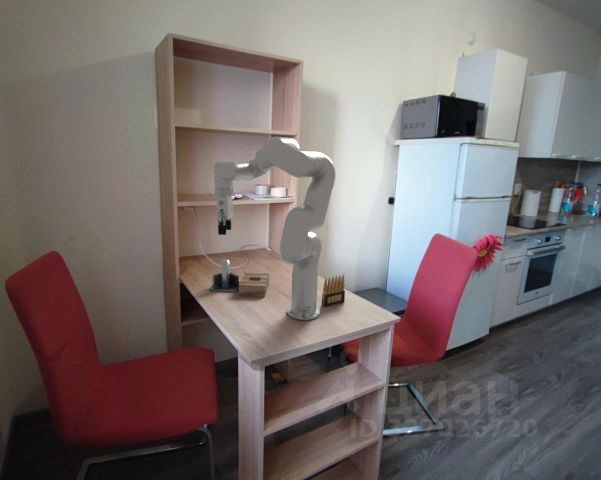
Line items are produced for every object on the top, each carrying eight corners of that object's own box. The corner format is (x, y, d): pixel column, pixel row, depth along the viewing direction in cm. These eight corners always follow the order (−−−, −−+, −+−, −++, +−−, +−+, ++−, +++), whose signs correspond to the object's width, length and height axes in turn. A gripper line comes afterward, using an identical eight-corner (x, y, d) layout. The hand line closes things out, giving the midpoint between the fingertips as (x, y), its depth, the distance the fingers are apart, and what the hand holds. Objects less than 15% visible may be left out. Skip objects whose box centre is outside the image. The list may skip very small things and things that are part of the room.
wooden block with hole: (264, 297, 150) (265, 285, 149) (239, 296, 150) (238, 284, 149) (269, 283, 165) (269, 273, 164) (245, 282, 166) (245, 272, 164)
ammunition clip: (341, 300, 149) (343, 273, 146) (344, 302, 148) (346, 274, 145) (321, 305, 143) (322, 277, 141) (324, 307, 142) (325, 279, 139)
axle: (228, 287, 156) (228, 261, 153) (220, 287, 156) (220, 261, 153) (230, 284, 159) (230, 259, 157) (222, 284, 159) (222, 259, 157)
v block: (209, 291, 154) (209, 278, 153) (215, 282, 164) (215, 270, 163) (237, 292, 154) (237, 279, 152) (241, 283, 164) (241, 271, 163)
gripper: (228, 194, 139) (229, 236, 143) (237, 190, 156) (237, 228, 160) (209, 193, 139) (210, 236, 143) (220, 189, 156) (221, 227, 160)
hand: (224, 232), depth 152 cm, fingers open, 9 cm apart
